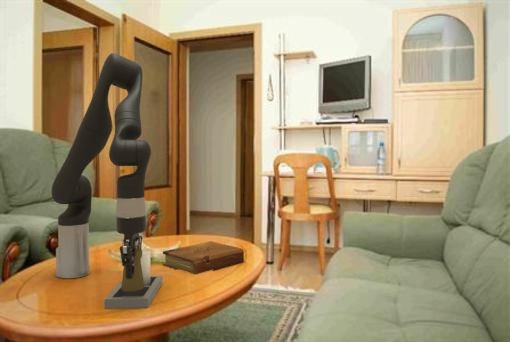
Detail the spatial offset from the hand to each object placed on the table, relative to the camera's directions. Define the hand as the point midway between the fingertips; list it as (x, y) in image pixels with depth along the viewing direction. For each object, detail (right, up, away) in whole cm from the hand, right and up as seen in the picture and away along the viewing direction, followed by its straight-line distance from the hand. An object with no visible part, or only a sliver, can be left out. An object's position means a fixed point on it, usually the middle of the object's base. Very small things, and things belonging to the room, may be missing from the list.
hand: (132, 277), depth 106 cm
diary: (+14, -6, +39) cm, 42 cm away
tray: (0, -7, +5) cm, 8 cm away
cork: (0, -3, 0) cm, 3 cm away
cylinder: (-1, -6, +9) cm, 11 cm away
